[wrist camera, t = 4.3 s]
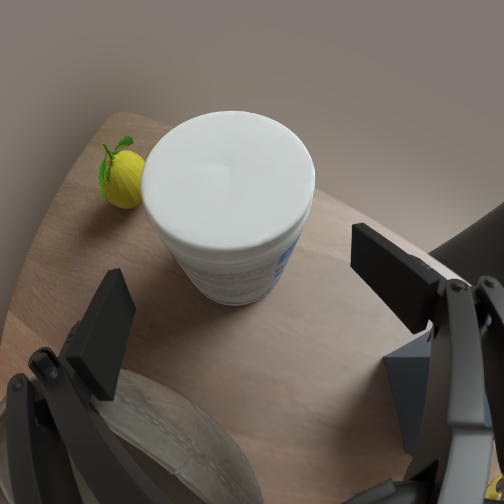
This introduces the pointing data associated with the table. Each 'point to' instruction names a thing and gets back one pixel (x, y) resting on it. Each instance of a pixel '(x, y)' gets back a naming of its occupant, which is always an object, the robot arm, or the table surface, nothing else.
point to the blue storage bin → (414, 387)
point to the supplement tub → (229, 201)
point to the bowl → (165, 446)
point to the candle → (493, 489)
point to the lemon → (121, 176)
